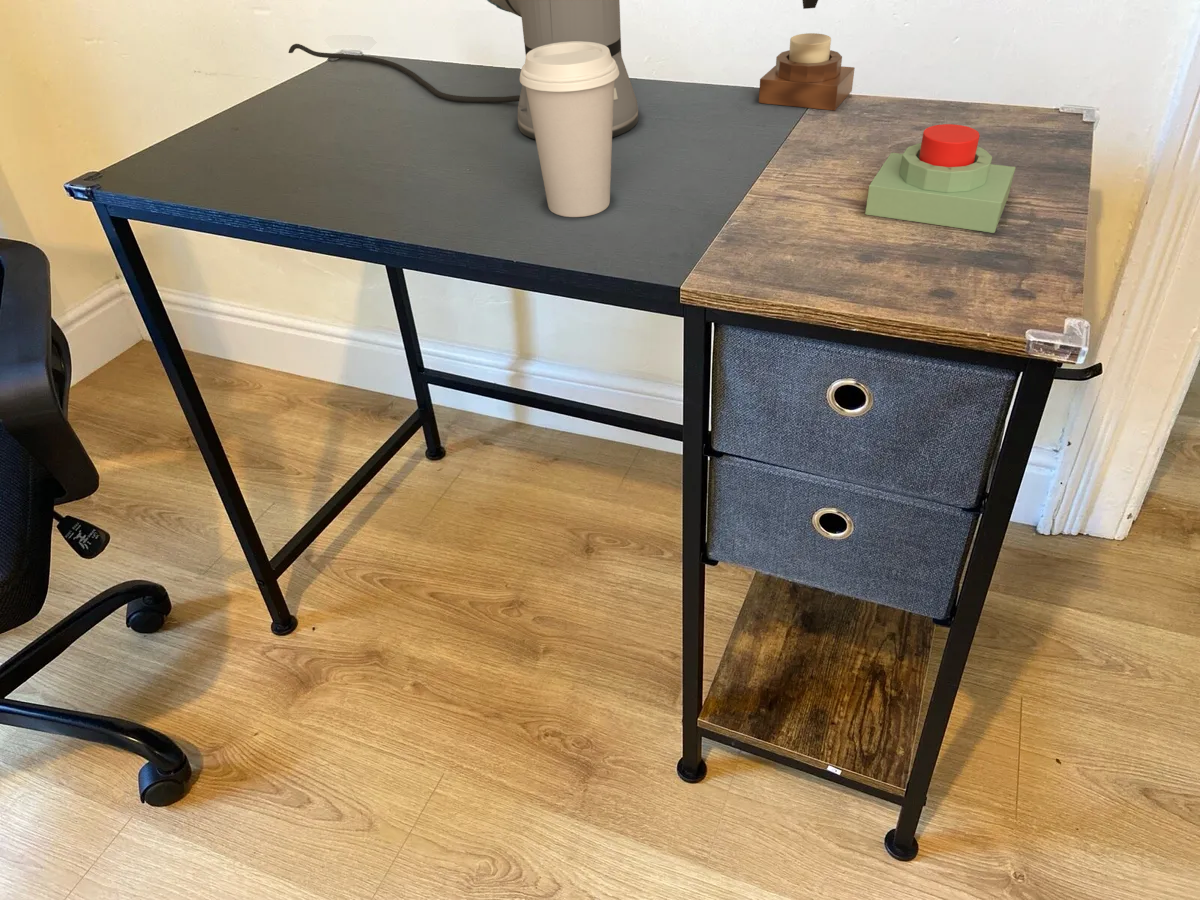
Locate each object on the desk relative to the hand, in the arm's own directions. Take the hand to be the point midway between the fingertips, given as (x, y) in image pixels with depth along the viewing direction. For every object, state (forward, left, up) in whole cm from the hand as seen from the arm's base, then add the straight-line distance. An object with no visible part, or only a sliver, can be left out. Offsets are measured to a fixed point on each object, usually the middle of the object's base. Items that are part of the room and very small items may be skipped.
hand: (811, 1), depth 108 cm
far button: (+1, -1, -7) cm, 7 cm away
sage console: (+23, -29, -11) cm, 38 cm away
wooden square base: (+1, -1, -11) cm, 11 cm away
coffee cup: (-11, -41, -11) cm, 44 cm away
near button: (+23, -29, -7) cm, 37 cm away
